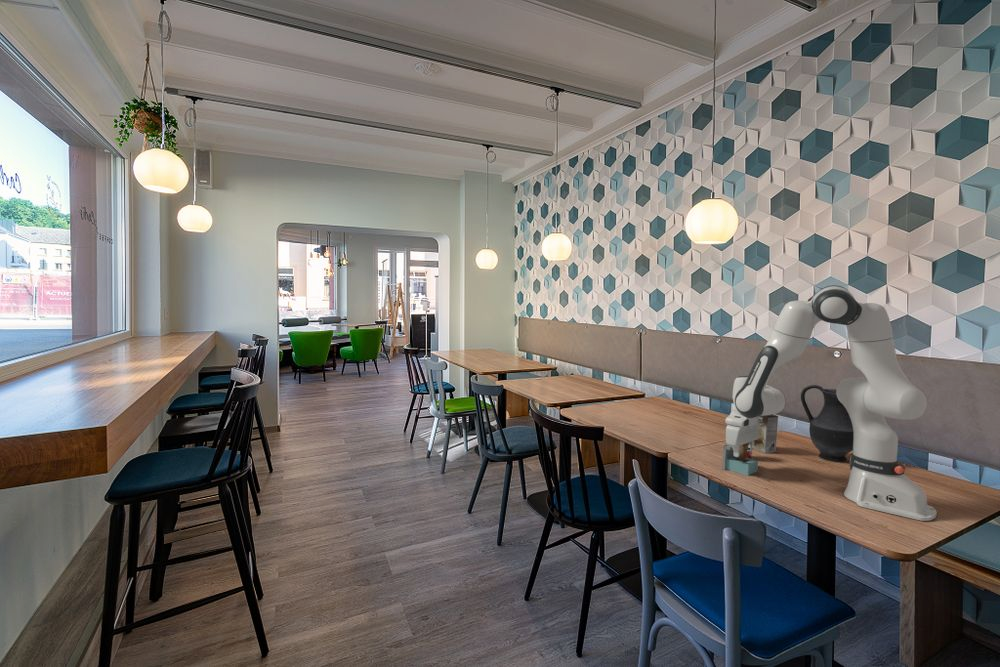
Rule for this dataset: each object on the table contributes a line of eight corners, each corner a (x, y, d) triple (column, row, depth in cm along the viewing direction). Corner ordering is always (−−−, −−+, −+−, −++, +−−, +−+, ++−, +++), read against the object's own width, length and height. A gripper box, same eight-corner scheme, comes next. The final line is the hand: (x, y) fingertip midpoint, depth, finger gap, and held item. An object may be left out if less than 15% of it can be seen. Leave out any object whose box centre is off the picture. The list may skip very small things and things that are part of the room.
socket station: (758, 470, 177) (759, 447, 176) (746, 476, 170) (747, 451, 170) (734, 464, 184) (735, 441, 183) (722, 469, 177) (723, 445, 177)
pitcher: (860, 468, 182) (866, 392, 180) (797, 458, 192) (801, 386, 191) (855, 457, 196) (860, 386, 195) (796, 448, 207) (800, 381, 205)
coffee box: (747, 447, 207) (749, 411, 206) (759, 446, 209) (761, 410, 208) (764, 453, 199) (766, 415, 198) (776, 452, 200) (778, 415, 200)
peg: (745, 463, 176) (751, 437, 178) (742, 461, 174) (749, 435, 176) (738, 461, 178) (744, 436, 180) (735, 459, 176) (742, 434, 178)
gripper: (748, 412, 184) (746, 447, 185) (723, 419, 172) (721, 456, 172) (765, 416, 179) (763, 451, 180) (740, 423, 167) (738, 461, 167)
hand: (742, 454), depth 176 cm, fingers open, 8 cm apart
